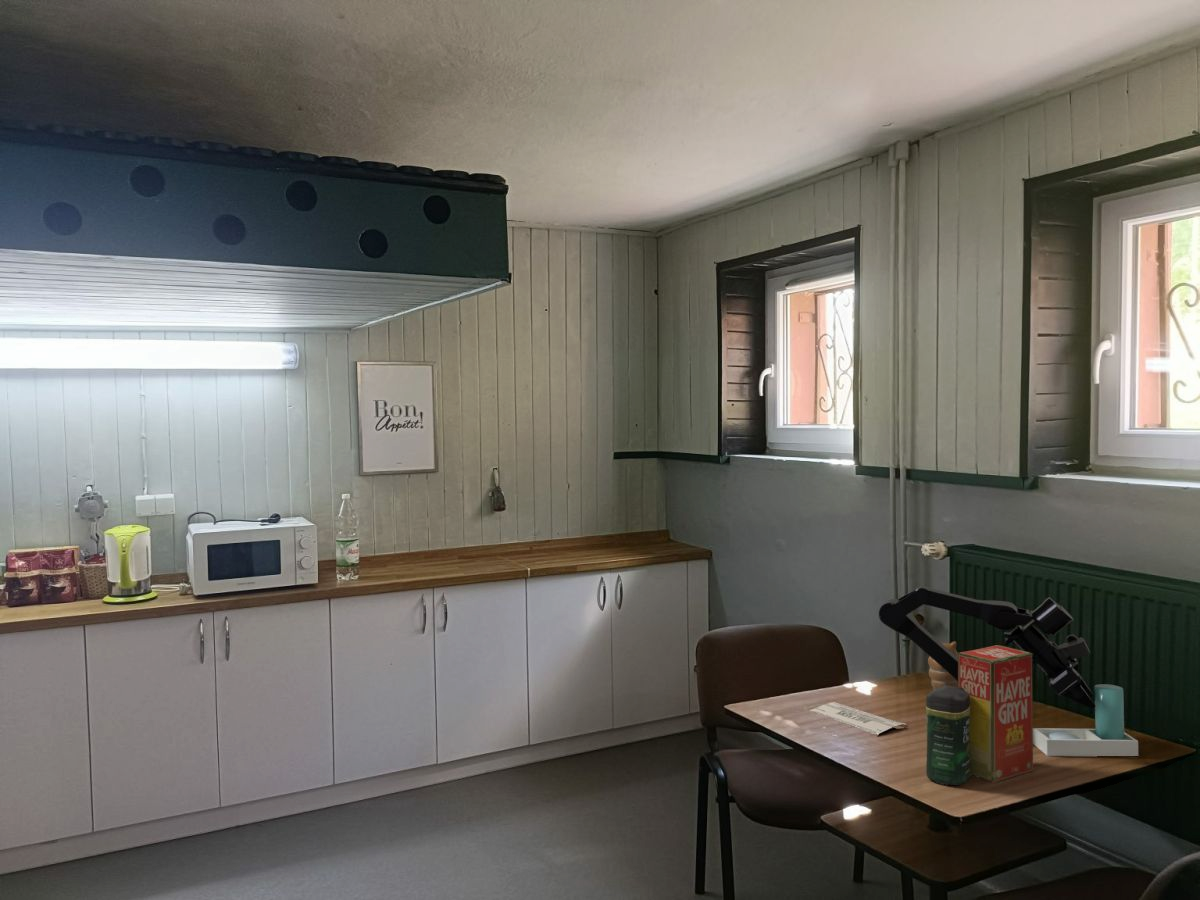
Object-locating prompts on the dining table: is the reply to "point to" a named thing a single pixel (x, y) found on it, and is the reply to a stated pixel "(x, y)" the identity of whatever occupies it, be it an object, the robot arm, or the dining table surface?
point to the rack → (1081, 743)
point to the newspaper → (857, 718)
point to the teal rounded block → (1109, 712)
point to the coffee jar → (948, 735)
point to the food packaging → (999, 710)
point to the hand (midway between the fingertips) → (1092, 702)
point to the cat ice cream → (942, 670)
